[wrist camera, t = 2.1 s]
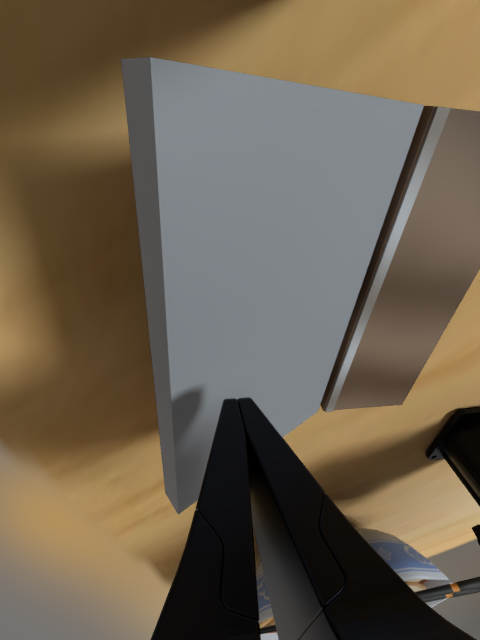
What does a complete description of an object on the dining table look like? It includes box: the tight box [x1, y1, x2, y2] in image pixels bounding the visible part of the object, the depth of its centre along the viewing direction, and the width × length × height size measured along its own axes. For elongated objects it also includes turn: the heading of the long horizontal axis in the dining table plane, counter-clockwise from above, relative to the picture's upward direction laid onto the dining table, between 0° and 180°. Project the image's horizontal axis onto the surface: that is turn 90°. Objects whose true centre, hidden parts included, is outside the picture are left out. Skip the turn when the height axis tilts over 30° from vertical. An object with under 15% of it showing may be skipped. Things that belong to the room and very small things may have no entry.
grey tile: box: [121, 57, 424, 514], centre depth 13 cm, size 16×10×1 cm, turn 175°
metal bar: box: [320, 106, 480, 412], centre depth 16 cm, size 16×6×2 cm, turn 175°
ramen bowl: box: [256, 527, 480, 640], centre depth 33 cm, size 25×23×8 cm
